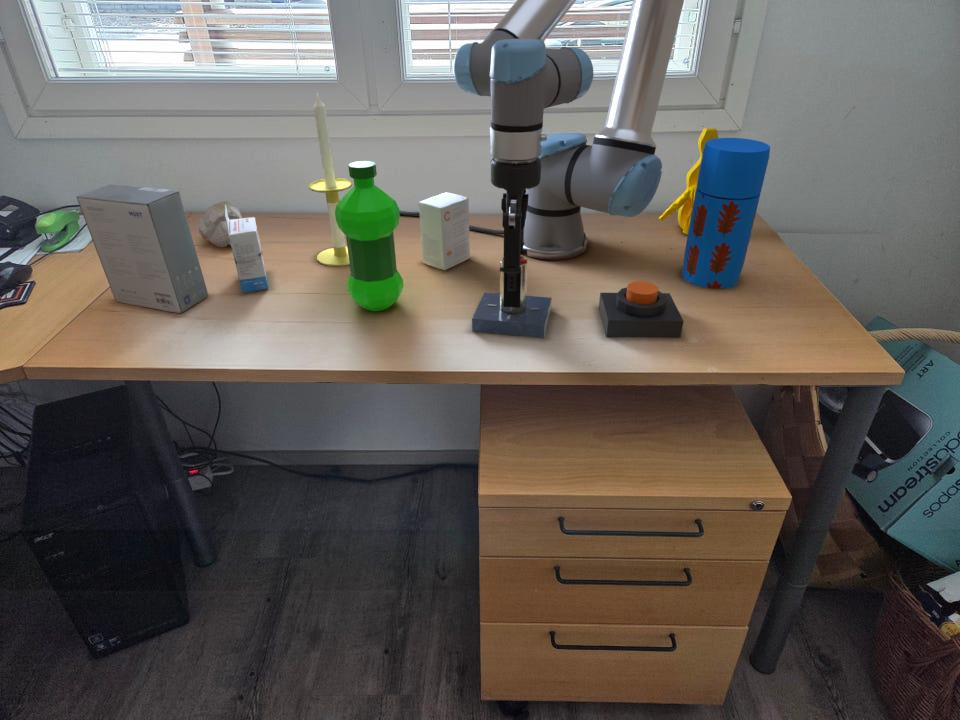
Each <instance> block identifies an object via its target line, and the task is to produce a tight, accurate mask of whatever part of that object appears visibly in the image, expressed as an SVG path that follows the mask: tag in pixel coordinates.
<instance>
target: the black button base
mask: <svg viewBox="0 0 960 720" xmlns="http://www.w3.org/2000/svg"><path fill="white" fill-rule="evenodd" d="M626 293H627V286H626V287H622V288H620V290H619V291H617V292H600V293H599V301H598V312H599V316H600V320H601V323H602V326H603V330H604V333H605V337H606V338H645V339H646V338H647V339H648V338H653V339H654V338H656V339H657V338H659V339H660V338H662V339H669V338H670V339H681V336H682V332H683V327H684V321H685V320H684V318H683V317H682V315H681V313H680V311H679V309H678V307H677V305H676V303H675V301H674V299H673V297H672V295H671V293H670V292H661V291H660V290H658V296H657V301H656V302H655V303H652V304H637V303H633V302H630V301H629V300H627V299H626Z"/></svg>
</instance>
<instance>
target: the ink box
mask: <svg viewBox="0 0 960 720" xmlns="http://www.w3.org/2000/svg"><path fill="white" fill-rule="evenodd" d="M225 219H226V225H227V230H228V235H229V239H230V243H231V245H230V247H231V252H232V256H233V259H234V263H235V268H236V273H237V276H238V280H239V285H240V289H241V293H242V294H247V293H253V292H261V291H267V290H269V283H268V276H267V270H266V266H265V261H264V256H263V251H262V246H261V245H262V244H261V240H260V236H259V231H258V226H257V221H256V217H254V216H252V217H251V216H250V217H242V218H241V219H233V220H229V217H228V212H227V208H226V205H225Z"/></svg>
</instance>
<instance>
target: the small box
mask: <svg viewBox="0 0 960 720" xmlns="http://www.w3.org/2000/svg"><path fill="white" fill-rule="evenodd" d="M469 201H470V200H469V197H467V196H463V195H460V194H456V193H452V192H448V191H445V192H442V193H440V194H437V195H433V196H430V197H429V198H426V199H423V200H420V201H418V212H419V214H420V216H419V226H420V242H421V251H422V252H421V253H422V263H423V264H425V265H428V266H430V267H433V268H436V269H439V270H442V271H446V270H448V269H450V268H453V267H455V266H457V265H459V264H461V263H463V262H465V261H466V260H469V259H471V245H470V243H471V242H470V241H471V240H470V229H469V225H470V206H469V205H470V204H469Z"/></svg>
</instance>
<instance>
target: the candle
mask: <svg viewBox="0 0 960 720" xmlns="http://www.w3.org/2000/svg"><path fill="white" fill-rule="evenodd" d="M313 111H314V119H315V126H316V132H317V138H318V146H319V152H320V160H321V166H322V174H323V178H322V179H318V180H314V181H312V182H310V183H309V184H308V189H309V190H310V191H312V192H314V193H315V192H316V193H324V194H325V198H326V199H325V200H326V207H327V214H328V219H329V227H330V232H331V239H332V247H330V248H327V249H325V250H322V251H320V252H319V253H318V254H317V255H316V262H318V264H320V265H323V266H328V267H346V266H350V262H349V255H348V247H347V245H346V239H345V234H344V233H343V232H342V231H341V230H340V229H339V228H338V225H337V222H336V218H335V210H336V206H337V204H338V203H339V202H340V196H339V192H344V191H346V190H350V189H351V188H352V186H353V181H352V180H350V179H347V178H341V177H336V176H335V175H336V174H335V168H334V167H335V166H334V161H333V160H334V159H333V153H332V146H331V137H330V131H329V123H328V117H327V110H326V105H325V103H324V102H323V101H322V99H321V97H320V94H319V91H318V90H316V97H315V103H314V104H313Z"/></svg>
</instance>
